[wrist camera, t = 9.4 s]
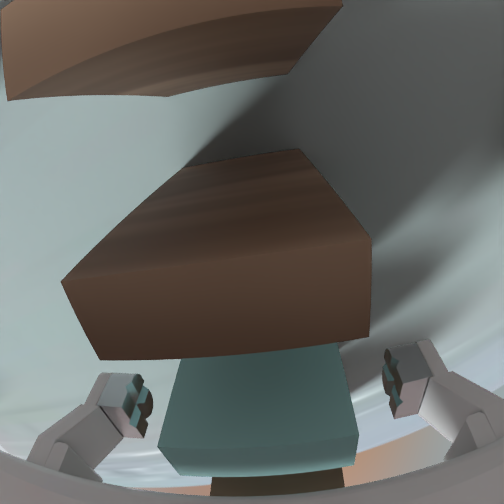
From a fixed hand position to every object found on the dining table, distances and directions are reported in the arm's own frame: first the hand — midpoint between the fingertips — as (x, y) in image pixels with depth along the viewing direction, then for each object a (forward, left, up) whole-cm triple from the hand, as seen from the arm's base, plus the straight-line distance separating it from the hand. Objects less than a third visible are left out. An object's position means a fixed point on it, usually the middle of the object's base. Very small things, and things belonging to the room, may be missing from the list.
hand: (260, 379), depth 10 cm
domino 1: (0, -10, -6) cm, 12 cm away
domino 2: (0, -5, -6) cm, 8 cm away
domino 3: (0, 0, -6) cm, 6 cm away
